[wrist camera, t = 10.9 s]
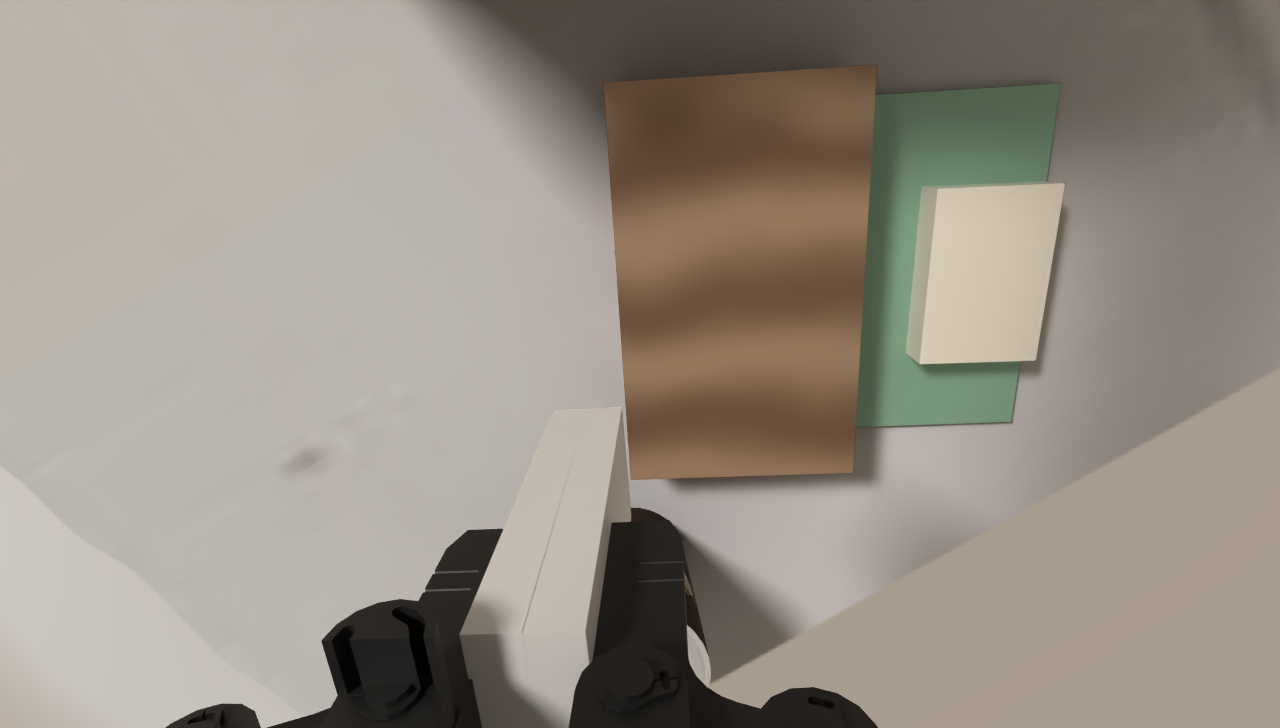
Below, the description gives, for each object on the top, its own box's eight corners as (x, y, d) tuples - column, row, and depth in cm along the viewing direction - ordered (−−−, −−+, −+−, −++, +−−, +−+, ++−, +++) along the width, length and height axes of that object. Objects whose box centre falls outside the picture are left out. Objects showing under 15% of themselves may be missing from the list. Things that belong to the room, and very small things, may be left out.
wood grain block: (610, 90, 32) (603, 82, 28) (851, 75, 31) (877, 64, 27) (634, 447, 38) (630, 479, 34) (833, 440, 37) (852, 472, 34)
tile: (1065, 183, 30) (1041, 181, 32) (937, 188, 30) (921, 186, 32) (1035, 360, 33) (1015, 349, 35) (919, 364, 33) (905, 352, 35)
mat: (860, 96, 31) (862, 95, 31) (1055, 84, 31) (1061, 83, 30) (843, 424, 37) (844, 427, 37) (1007, 418, 37) (1011, 421, 36)
